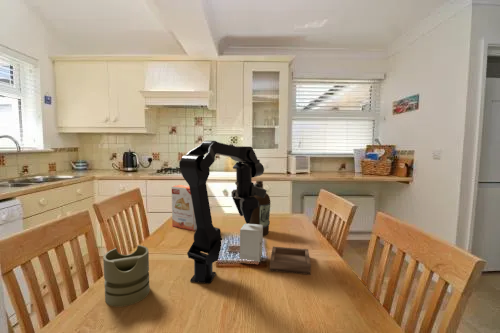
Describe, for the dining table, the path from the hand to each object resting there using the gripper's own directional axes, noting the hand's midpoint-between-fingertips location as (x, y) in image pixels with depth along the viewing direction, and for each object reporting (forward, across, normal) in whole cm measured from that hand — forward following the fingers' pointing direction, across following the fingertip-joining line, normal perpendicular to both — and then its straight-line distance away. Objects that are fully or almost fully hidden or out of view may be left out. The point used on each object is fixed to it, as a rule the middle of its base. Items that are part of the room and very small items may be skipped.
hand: (244, 219), depth 99 cm
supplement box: (+14, -7, 0) cm, 15 cm away
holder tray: (+13, -13, -13) cm, 23 cm away
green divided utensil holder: (+12, -18, +39) cm, 45 cm away
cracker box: (+14, +36, +21) cm, 44 cm away
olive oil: (+14, +20, -12) cm, 27 cm away
